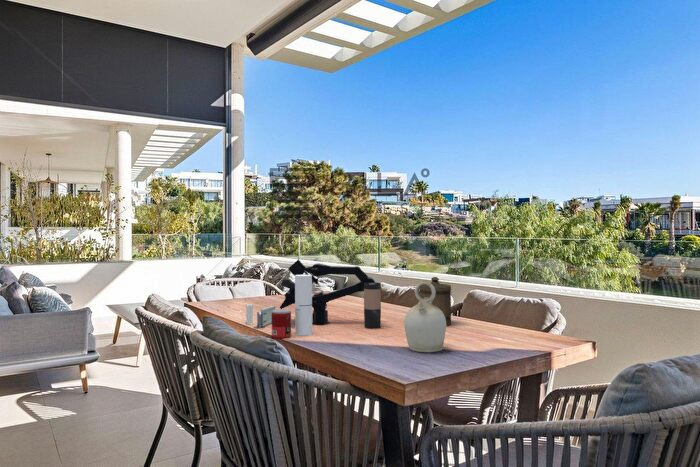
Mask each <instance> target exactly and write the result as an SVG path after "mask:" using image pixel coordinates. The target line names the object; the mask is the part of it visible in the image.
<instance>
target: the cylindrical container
mask: <svg viewBox="0 0 700 467" xmlns="http://www.w3.org/2000/svg"><path fill="white" fill-rule="evenodd" d="M312 275H313V274H312ZM312 275H311V274H309V275H305V274H303V275H295V276H294V283H295V304H294V306H295V307H294V315H295V316H294V325H295V326H294V327H295V329H294V331H295V334H294V335H295V336H298V337H308V336H312V335H313V324H312V314H313V307H312V296H313V284H312Z"/></svg>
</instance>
